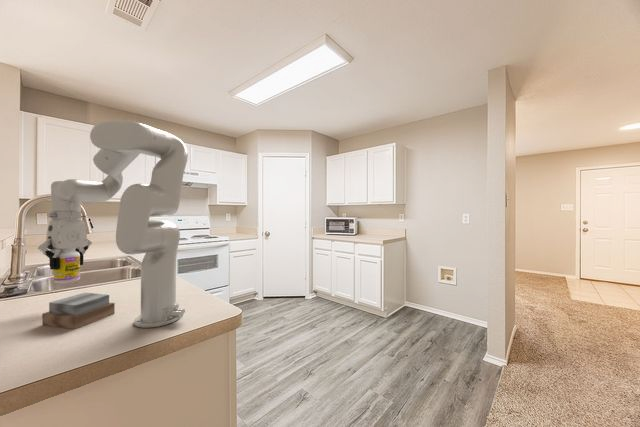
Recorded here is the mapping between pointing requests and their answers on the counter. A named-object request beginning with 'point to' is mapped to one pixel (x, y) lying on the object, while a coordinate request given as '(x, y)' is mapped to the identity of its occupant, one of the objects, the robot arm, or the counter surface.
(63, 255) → the supplement bottle
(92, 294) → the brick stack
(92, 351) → the counter surface
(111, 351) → the counter surface
